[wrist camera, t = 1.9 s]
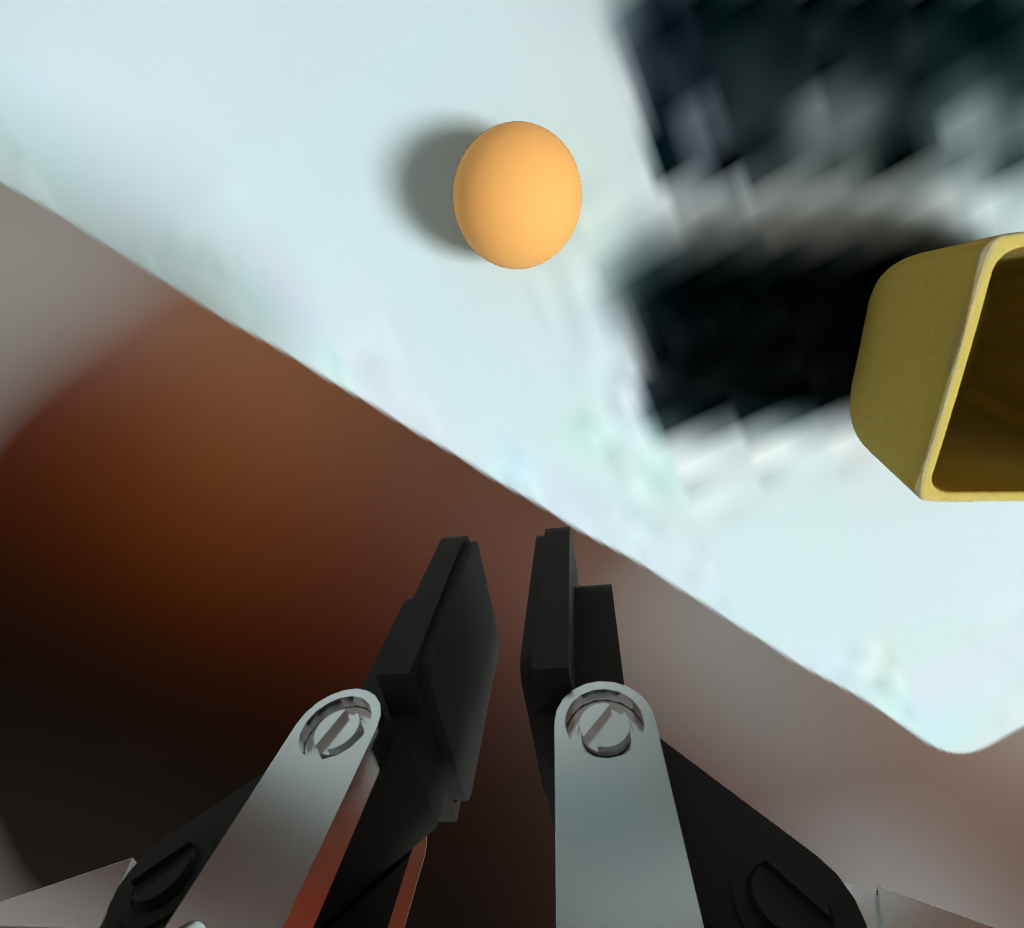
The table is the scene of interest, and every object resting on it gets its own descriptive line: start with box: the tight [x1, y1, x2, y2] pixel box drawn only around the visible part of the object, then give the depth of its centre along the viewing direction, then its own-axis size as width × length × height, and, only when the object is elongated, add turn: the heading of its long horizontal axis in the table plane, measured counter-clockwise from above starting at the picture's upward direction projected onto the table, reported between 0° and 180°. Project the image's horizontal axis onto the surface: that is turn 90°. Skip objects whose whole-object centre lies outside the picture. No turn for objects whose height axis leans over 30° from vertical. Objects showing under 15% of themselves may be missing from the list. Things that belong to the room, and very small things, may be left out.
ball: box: [453, 121, 582, 269], centre depth 20 cm, size 6×6×6 cm
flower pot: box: [850, 232, 1024, 502], centre depth 19 cm, size 9×9×9 cm
